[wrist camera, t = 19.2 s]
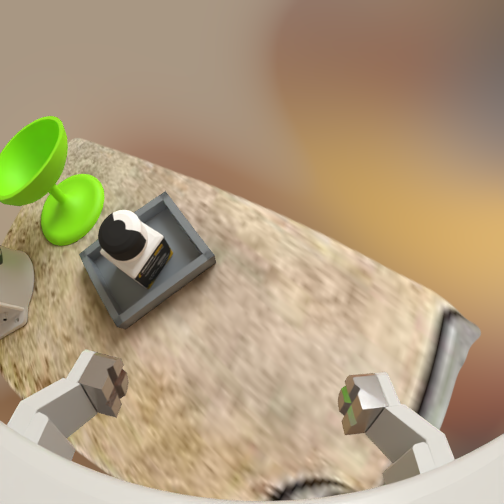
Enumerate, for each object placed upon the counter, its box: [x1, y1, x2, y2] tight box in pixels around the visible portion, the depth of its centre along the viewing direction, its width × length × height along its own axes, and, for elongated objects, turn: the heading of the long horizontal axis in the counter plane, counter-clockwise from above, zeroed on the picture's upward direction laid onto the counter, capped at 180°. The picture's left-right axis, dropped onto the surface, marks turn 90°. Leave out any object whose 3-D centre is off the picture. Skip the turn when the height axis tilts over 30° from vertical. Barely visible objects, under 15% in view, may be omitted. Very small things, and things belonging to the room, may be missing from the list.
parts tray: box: [79, 191, 216, 329], centre depth 41 cm, size 18×14×4 cm
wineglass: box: [0, 116, 104, 246], centre depth 37 cm, size 16×16×18 cm
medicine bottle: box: [98, 210, 173, 289], centre depth 36 cm, size 7×7×12 cm
